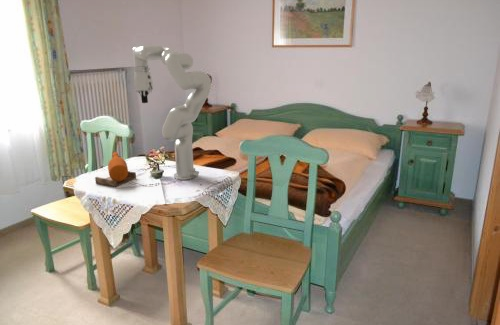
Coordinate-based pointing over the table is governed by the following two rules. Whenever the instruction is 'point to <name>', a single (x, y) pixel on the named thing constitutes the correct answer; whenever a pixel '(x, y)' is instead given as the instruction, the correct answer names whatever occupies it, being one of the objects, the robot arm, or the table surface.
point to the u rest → (115, 183)
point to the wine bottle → (117, 168)
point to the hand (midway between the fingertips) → (144, 102)
